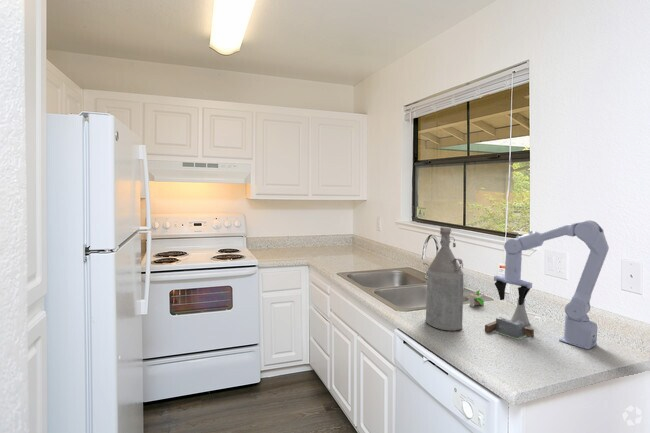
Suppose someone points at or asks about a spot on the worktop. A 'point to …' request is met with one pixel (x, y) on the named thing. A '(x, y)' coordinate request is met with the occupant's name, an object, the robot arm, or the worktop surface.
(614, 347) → the worktop surface
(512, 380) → the worktop surface
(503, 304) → the worktop surface
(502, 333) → the pad
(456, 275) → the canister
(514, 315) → the flask
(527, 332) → the grey and brown piece
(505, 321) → the bracket
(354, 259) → the worktop surface
